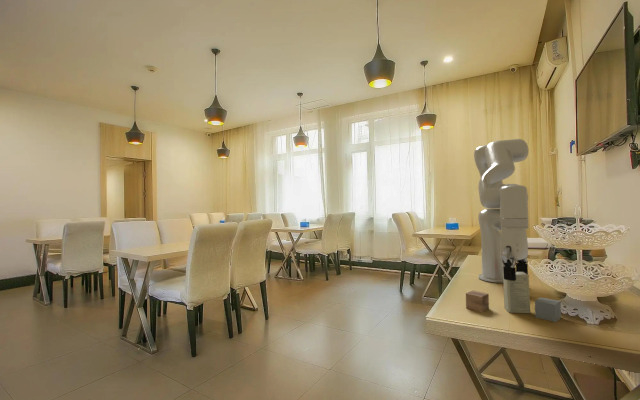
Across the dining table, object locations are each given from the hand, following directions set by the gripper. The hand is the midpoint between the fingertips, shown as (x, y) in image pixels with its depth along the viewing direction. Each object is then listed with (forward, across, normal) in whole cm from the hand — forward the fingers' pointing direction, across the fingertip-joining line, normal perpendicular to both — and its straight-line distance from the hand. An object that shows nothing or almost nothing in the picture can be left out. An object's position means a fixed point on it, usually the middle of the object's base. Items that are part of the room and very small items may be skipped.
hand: (516, 277), depth 95 cm
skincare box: (+11, -1, 0) cm, 11 cm away
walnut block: (+11, +6, -9) cm, 16 cm away
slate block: (+11, -2, +8) cm, 13 cm away
